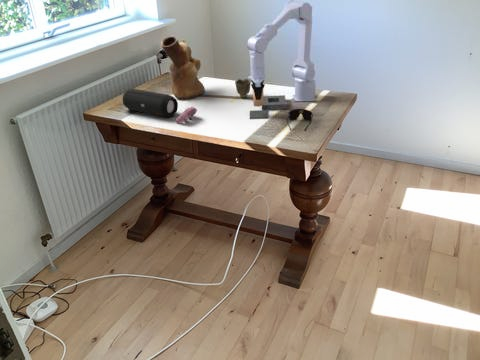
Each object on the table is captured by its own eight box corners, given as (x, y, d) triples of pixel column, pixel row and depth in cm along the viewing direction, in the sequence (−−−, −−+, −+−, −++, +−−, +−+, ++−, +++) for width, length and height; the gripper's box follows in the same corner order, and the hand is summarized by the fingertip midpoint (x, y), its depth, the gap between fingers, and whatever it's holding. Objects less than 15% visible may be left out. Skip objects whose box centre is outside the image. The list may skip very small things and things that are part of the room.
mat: (267, 111, 197) (267, 109, 197) (268, 118, 190) (268, 117, 190) (249, 111, 198) (249, 110, 197) (249, 118, 191) (249, 117, 191)
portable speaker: (123, 112, 204) (119, 92, 199) (137, 105, 211) (133, 85, 206) (167, 121, 193) (164, 100, 188) (180, 113, 200) (177, 92, 195)
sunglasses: (313, 119, 187) (313, 109, 184) (310, 135, 179) (310, 124, 175) (288, 118, 190) (288, 108, 187) (284, 133, 181) (284, 123, 178)
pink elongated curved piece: (182, 128, 190) (186, 116, 185) (174, 122, 191) (178, 109, 186) (195, 119, 197) (200, 107, 192) (187, 113, 198) (192, 101, 193)
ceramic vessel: (211, 91, 222) (205, 30, 206) (184, 106, 207) (176, 41, 191) (186, 86, 230) (179, 27, 214) (158, 101, 214) (149, 38, 198)
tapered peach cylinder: (263, 102, 193) (262, 82, 188) (264, 106, 190) (263, 85, 185) (253, 102, 193) (252, 82, 188) (253, 106, 190) (253, 86, 185)
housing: (284, 100, 207) (284, 95, 206) (286, 109, 198) (286, 104, 196) (261, 101, 208) (261, 96, 206) (261, 110, 198) (261, 105, 197)
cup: (251, 94, 216) (251, 78, 212) (250, 99, 210) (250, 83, 206) (236, 94, 217) (235, 78, 213) (235, 99, 211) (234, 83, 207)
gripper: (247, 61, 189) (249, 91, 196) (247, 72, 177) (248, 104, 184) (264, 60, 189) (264, 91, 196) (265, 71, 176) (265, 103, 183)
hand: (258, 97), depth 190 cm, fingers closed on tapered peach cylinder, 4 cm apart
